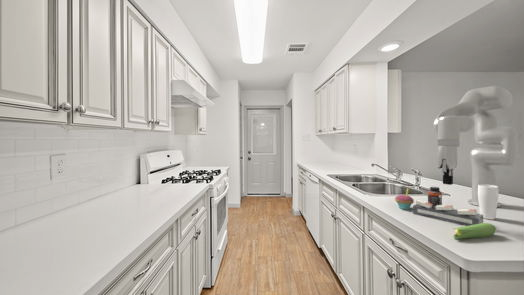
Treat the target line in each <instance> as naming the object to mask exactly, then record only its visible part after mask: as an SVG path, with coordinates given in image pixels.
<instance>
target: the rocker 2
mask: <svg viewBox="0 0 524 295" xmlns="http://www.w3.org/2000/svg"><path fill="white" fill-rule="evenodd" d="M435 208H436V210H452V209H454V206H453V205H452V204H451V205H450V204H447V205H444V204H442V205H437V206H435Z"/></svg>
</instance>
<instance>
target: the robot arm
mask: <svg viewBox="0 0 524 295" xmlns="http://www.w3.org/2000/svg"><path fill="white" fill-rule="evenodd" d="M513 100H514V98H513V95H512V93H511V92H510V91H508V90H507V89H506V88H504V87H502V86H501V85H500V86H499V85H491V86H484V87H477V88H473V89H469V90H468V91H467V92H466V93H464V95H463V97H462V98H461V99H460V101H459V102H458V103H457V104H454V105H452V106H450V107H447V108H446V109H444V110H442V111H441V112H439V114H438V115H437V116H436V117H435V119H434V121H433V126H432V127H433V130H434V131H435V132H436V133H437V147H438V151H437V162H436V168H438V169H441V172H442V184H443V185H449V186H450V185H453V184H454V169H457V167H458V148H459V147H460V136H461V135H460V133H467V132H470V131H471V130H472V129H473V127H474V135H473V136H474V141H475V143H476V144H478V145H487V146H480V147H479V146H478V147H474V148H472V149H471V150H470V152H469V159H470V163H471V199H468V200H467V203H468V204H470V205H474V206H478V207H479V201H478V185H481V184H483V185H494V186H497V172H496V171H495V169H494V168H493V167H492V166H498V167H499V166H501V167H502V166H503V167H511V166H512V167H513V166H514V165H515V164H516V163H517V159H518V132H517V129H516V128H515V127H512V126H507V125H506V126H504V125H503V126H497V123H498V122H497V120H498V117H497V115H495V113H493V112H492V110H501V109H508V108H509V107H511V105H512V104H513ZM472 116H473V118H474V120H473V119H472ZM488 145H490V146H488ZM491 145H493V146H495V145H499V146H500V145H501V146H502V147H493V146H491ZM500 207H501V204H500V203H499V202H498V203H497V208H500Z"/></svg>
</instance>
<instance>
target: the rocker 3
mask: <svg viewBox="0 0 524 295" xmlns="http://www.w3.org/2000/svg"><path fill="white" fill-rule="evenodd" d="M457 210H458V211H457V212H458V214H466V215H476V214H478V210H477V209H473V208H472V209H470V208H469V209H457Z"/></svg>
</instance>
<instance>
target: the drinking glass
mask: <svg viewBox="0 0 524 295" xmlns="http://www.w3.org/2000/svg"><path fill="white" fill-rule="evenodd" d="M499 192H500V191H499V186H497V185H496V186H494V185H483V184H481V185H478V201H479V206H478V207H479V208H478V209H479V214H481V215H483V220H491V221H492V220H496V219H497V209H498V207H497V203H499Z"/></svg>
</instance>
